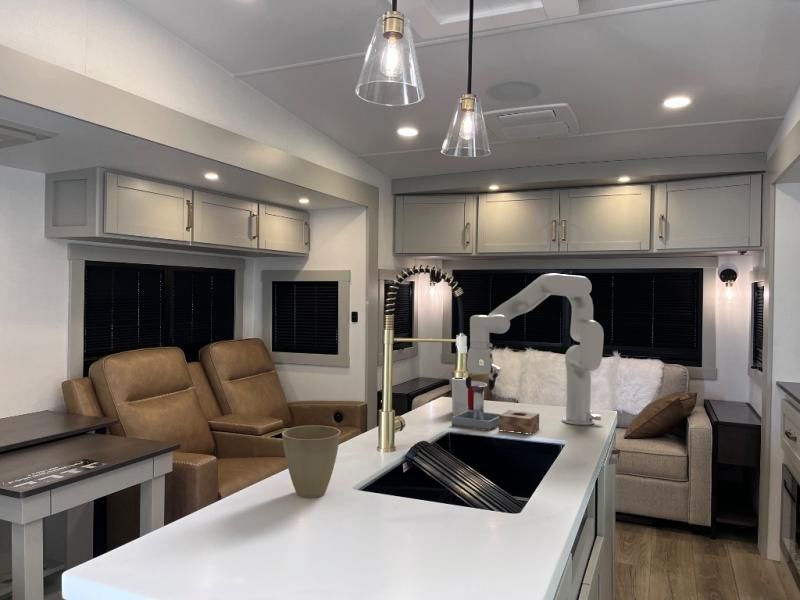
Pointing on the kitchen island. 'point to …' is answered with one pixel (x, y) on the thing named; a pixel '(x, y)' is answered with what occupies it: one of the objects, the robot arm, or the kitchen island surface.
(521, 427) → the pin block
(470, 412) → the tray
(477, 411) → the pin
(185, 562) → the kitchen island surface
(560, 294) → the robot arm
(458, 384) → the skincare box
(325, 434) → the plant pot
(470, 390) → the plastic cup
